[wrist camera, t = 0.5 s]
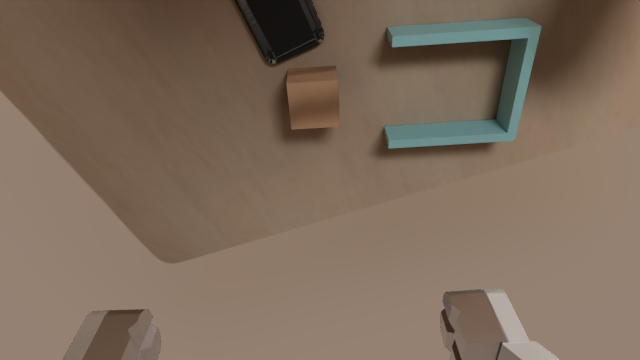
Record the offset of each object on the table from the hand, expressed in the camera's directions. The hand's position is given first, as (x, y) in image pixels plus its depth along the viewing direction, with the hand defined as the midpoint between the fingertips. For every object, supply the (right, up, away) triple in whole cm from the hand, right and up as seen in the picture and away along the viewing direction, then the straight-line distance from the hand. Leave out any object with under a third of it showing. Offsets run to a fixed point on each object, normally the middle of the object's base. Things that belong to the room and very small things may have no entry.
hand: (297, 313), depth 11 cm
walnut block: (0, +15, +42) cm, 45 cm away
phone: (-5, +25, +36) cm, 44 cm away
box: (+17, +16, +41) cm, 48 cm away
